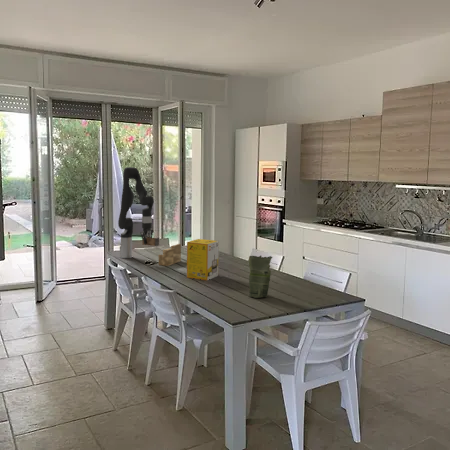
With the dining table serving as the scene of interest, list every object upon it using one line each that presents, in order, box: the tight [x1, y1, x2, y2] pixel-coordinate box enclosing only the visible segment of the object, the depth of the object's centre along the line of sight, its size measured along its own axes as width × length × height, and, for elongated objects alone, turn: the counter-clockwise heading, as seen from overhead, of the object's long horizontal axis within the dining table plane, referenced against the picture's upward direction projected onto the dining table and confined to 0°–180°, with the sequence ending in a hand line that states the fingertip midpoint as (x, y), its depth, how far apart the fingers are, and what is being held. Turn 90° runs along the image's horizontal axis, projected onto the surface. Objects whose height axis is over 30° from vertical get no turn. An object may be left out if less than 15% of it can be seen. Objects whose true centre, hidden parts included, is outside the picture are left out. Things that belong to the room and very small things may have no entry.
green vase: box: [248, 255, 273, 299], centre depth 275 cm, size 11×12×25 cm
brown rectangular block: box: [141, 237, 160, 247], centre depth 357 cm, size 13×4×6 cm, turn 64°
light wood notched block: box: [157, 243, 182, 267], centre depth 364 cm, size 8×21×14 cm, turn 156°
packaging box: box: [186, 238, 220, 281], centre depth 321 cm, size 16×16×25 cm
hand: (147, 243), depth 359 cm, fingers closed on brown rectangular block, 4 cm apart
